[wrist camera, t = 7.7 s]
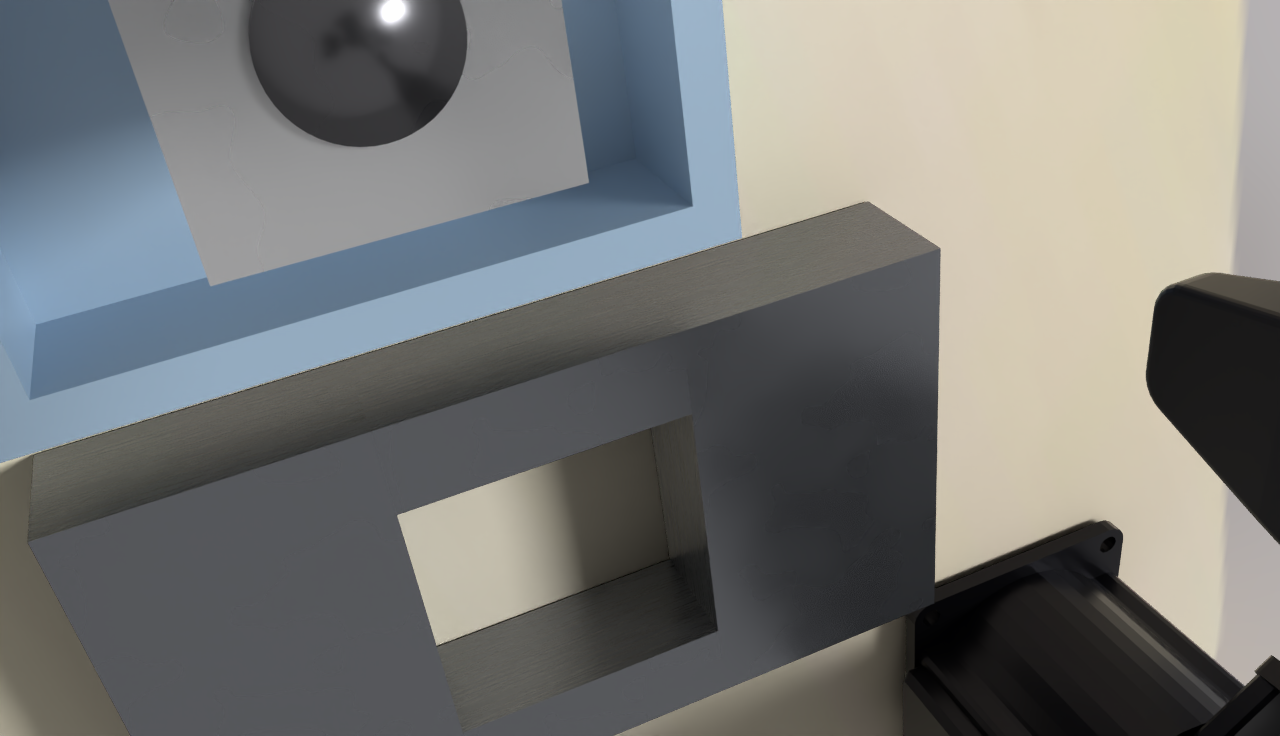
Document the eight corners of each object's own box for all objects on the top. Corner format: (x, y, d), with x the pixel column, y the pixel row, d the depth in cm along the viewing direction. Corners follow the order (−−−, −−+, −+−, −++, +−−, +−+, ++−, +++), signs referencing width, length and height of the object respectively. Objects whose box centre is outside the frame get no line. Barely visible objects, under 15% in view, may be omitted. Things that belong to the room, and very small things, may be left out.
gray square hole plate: (868, 201, 24) (940, 248, 22) (874, 538, 28) (934, 603, 26) (33, 455, 20) (27, 542, 18) (206, 800, 24) (217, 899, 22)
